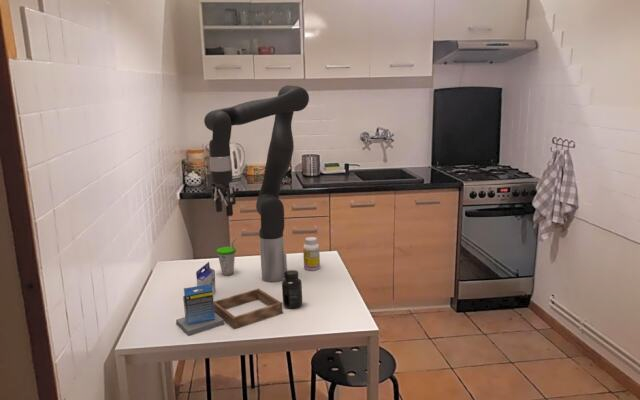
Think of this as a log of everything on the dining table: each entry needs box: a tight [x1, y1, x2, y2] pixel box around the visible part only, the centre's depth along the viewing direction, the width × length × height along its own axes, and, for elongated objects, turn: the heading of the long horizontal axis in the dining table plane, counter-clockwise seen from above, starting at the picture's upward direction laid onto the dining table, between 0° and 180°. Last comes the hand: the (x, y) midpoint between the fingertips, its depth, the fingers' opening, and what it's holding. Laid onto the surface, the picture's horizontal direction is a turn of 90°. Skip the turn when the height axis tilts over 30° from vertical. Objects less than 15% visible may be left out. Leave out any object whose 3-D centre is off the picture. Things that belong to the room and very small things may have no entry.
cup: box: [216, 238, 237, 277], centre depth 204 cm, size 8×8×15 cm
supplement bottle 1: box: [281, 269, 303, 310], centre depth 173 cm, size 7×7×12 cm
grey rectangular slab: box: [175, 312, 225, 336], centre depth 162 cm, size 12×10×2 cm
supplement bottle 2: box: [302, 236, 321, 271], centre depth 208 cm, size 7×7×13 cm
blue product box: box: [183, 284, 215, 325], centre depth 161 cm, size 9×4×12 cm, turn 112°
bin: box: [213, 288, 284, 330], centre depth 170 cm, size 18×16×4 cm
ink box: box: [195, 261, 216, 294], centre depth 183 cm, size 12×2×12 cm, turn 168°
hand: (224, 213), depth 180 cm, fingers open, 8 cm apart
